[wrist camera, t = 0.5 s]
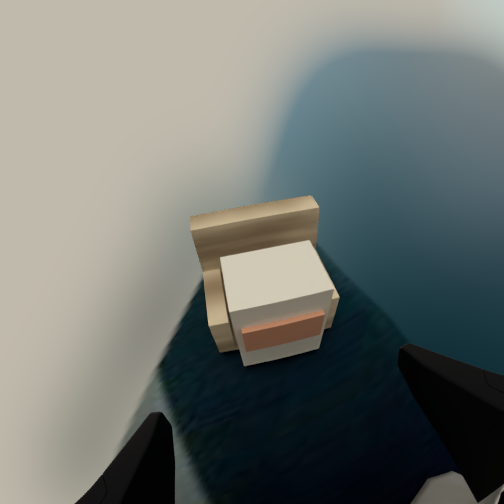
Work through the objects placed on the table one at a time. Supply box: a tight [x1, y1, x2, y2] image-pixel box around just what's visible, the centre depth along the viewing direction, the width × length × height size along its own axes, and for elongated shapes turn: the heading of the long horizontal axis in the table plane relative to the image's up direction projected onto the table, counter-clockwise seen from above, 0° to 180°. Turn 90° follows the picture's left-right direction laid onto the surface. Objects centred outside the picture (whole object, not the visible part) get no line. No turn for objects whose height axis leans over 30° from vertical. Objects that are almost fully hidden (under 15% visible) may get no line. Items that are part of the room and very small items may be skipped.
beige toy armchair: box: [190, 196, 339, 352], centre depth 25 cm, size 8×11×11 cm
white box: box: [220, 240, 334, 366], centre depth 22 cm, size 5×7×9 cm
